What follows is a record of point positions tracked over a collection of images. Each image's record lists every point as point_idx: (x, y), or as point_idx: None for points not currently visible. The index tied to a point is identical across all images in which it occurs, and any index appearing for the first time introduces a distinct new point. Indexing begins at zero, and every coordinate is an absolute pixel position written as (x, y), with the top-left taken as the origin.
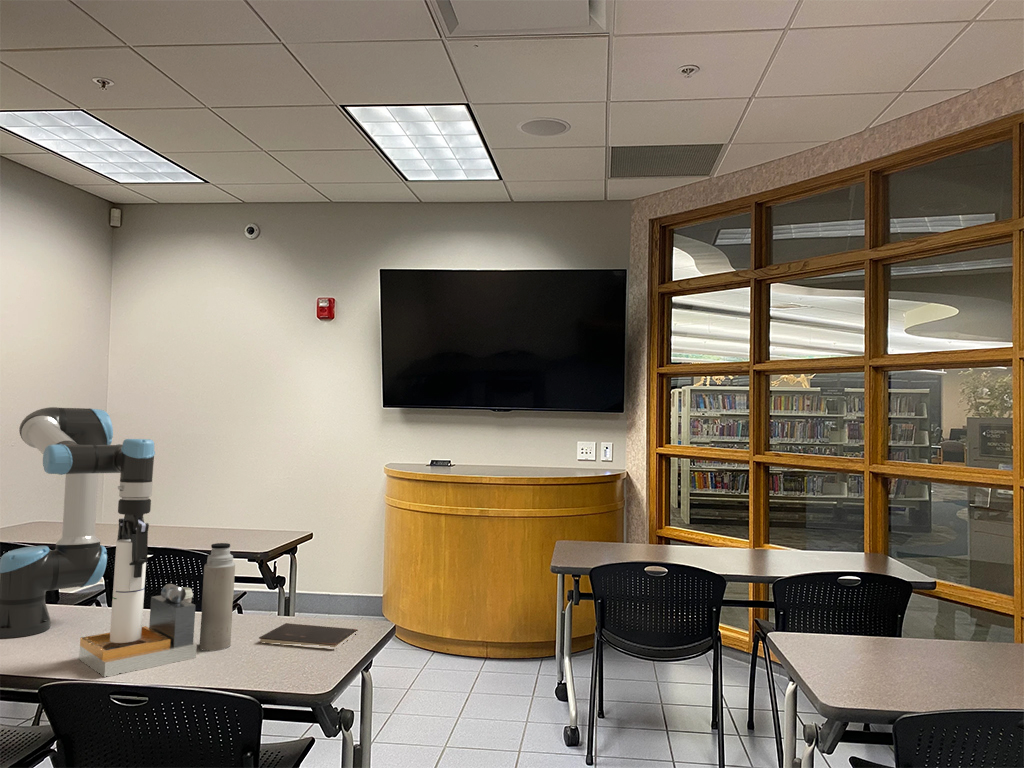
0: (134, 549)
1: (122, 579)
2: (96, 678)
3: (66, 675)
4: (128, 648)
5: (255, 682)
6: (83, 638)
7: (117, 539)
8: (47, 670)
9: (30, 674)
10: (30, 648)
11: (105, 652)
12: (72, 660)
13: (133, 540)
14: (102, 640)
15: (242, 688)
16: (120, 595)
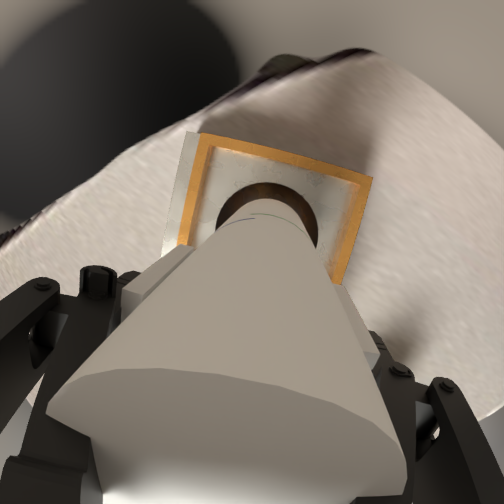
0: (53, 362)
1: (210, 240)
2: (204, 123)
3: (276, 99)
4: (187, 193)
5: (13, 273)
6: (358, 176)
7: (495, 464)
8: (342, 98)
9: (344, 68)
10: (491, 178)
11: (199, 138)
12: (364, 165)
13: (26, 434)
14: (345, 223)
15: (7, 246)
16: (229, 222)
